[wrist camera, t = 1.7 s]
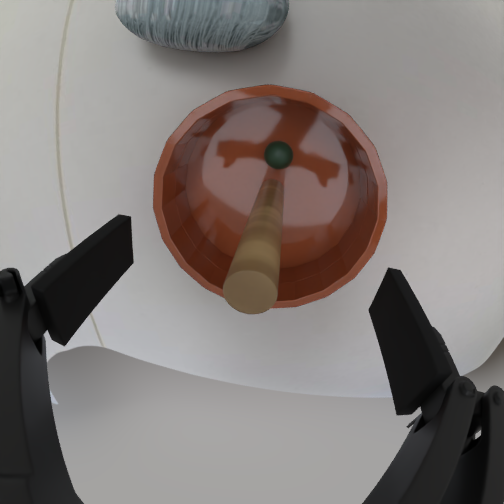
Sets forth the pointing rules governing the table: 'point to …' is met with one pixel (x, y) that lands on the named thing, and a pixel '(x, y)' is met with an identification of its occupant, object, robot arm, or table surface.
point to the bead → (278, 155)
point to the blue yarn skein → (203, 22)
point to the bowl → (292, 178)
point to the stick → (258, 254)
